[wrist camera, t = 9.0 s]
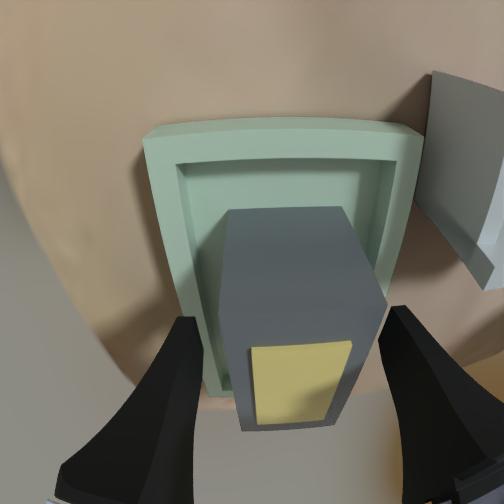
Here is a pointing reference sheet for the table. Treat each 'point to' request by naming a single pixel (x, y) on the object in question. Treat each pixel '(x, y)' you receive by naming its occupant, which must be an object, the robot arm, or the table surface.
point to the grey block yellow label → (295, 314)
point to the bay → (466, 173)
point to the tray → (273, 196)
